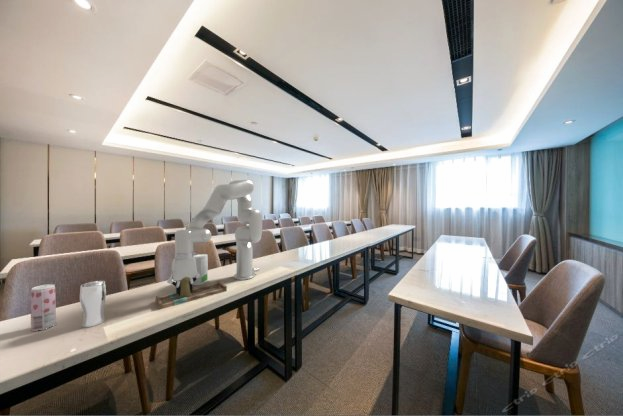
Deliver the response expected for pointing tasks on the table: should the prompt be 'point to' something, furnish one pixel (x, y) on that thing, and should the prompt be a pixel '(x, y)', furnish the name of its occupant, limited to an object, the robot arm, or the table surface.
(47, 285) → the beverage can
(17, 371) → the table surface
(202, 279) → the skincare box
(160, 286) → the table surface
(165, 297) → the brown wooden tray
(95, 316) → the beer glass
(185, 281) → the cork
